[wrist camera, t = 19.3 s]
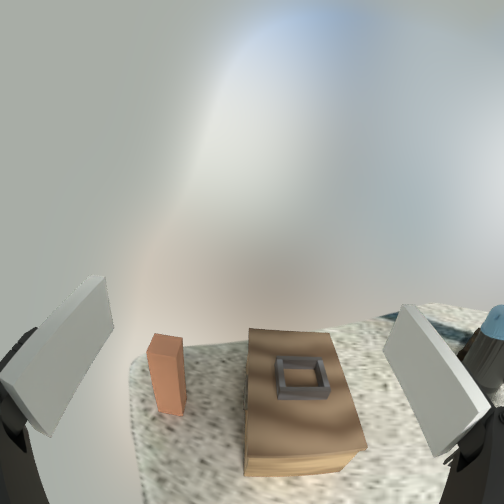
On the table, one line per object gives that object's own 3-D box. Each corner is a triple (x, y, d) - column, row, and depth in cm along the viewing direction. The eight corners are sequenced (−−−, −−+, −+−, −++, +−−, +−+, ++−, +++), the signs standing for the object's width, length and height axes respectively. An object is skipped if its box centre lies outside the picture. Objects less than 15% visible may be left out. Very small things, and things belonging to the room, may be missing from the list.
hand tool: (464, 366, 48) (473, 352, 46) (454, 359, 51) (462, 345, 50) (481, 342, 57) (488, 330, 55) (473, 336, 60) (479, 324, 58)
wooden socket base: (243, 363, 50) (249, 319, 46) (317, 366, 51) (331, 324, 47) (239, 478, 27) (247, 448, 23) (342, 473, 28) (374, 439, 24)
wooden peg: (163, 394, 40) (154, 333, 35) (186, 398, 40) (182, 337, 35) (158, 411, 36) (146, 352, 31) (182, 416, 36) (176, 357, 31)
